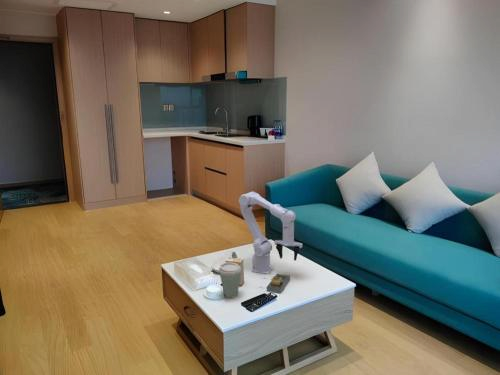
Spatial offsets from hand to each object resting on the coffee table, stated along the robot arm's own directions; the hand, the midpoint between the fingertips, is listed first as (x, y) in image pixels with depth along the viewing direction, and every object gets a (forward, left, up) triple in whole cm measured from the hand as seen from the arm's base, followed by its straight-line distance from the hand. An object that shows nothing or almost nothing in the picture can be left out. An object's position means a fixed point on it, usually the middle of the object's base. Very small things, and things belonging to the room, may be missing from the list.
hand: (288, 258), depth 202 cm
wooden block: (-2, -15, -10) cm, 18 cm away
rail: (-2, -12, -10) cm, 15 cm away
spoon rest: (-37, +1, -10) cm, 38 cm away
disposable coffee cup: (-20, -29, -10) cm, 37 cm away
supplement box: (-23, -17, -10) cm, 30 cm away
